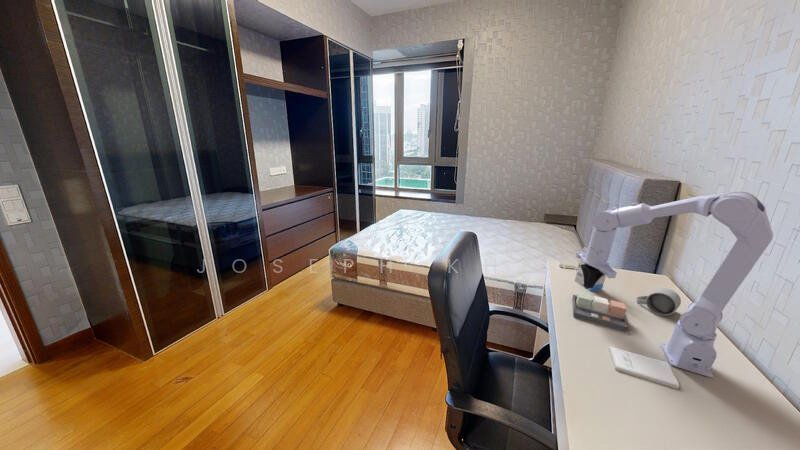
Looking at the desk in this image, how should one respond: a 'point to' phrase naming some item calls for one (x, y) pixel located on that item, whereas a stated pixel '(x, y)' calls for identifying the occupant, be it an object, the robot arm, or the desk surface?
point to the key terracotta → (617, 309)
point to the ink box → (580, 277)
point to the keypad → (599, 316)
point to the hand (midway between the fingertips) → (588, 287)
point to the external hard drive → (643, 367)
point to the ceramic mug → (661, 301)
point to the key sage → (584, 300)
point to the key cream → (600, 304)
